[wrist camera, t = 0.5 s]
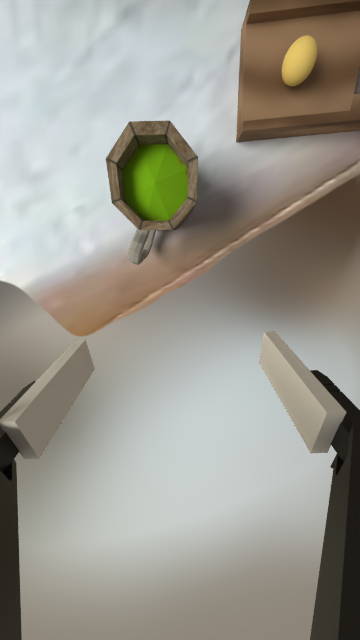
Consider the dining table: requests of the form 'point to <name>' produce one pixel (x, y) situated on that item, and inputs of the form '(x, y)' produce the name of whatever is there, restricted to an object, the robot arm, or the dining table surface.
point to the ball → (299, 60)
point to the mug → (152, 180)
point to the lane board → (321, 84)
